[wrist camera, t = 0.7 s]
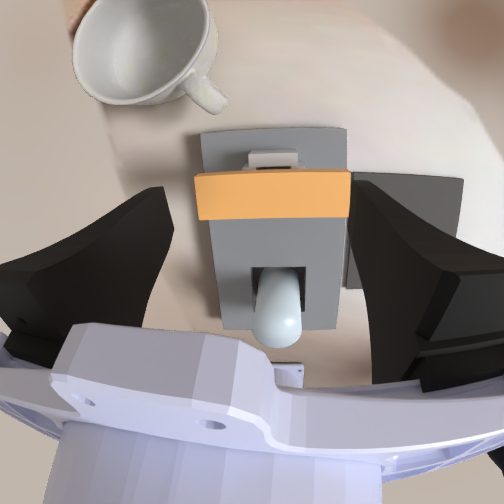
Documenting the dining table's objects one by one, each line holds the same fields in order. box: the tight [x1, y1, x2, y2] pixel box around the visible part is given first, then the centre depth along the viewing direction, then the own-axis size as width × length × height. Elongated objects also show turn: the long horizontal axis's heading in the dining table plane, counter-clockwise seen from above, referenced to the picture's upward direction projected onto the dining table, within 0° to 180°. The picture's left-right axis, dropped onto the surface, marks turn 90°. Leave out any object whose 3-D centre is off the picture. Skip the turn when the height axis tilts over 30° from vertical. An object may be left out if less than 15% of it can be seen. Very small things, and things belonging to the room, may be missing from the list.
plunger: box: [194, 169, 351, 220], centre depth 21 cm, size 3×10×4 cm, turn 93°
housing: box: [200, 128, 347, 330], centre depth 27 cm, size 20×12×5 cm, turn 3°
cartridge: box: [252, 267, 302, 348], centre depth 28 cm, size 4×4×8 cm
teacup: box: [72, 0, 229, 115], centre depth 19 cm, size 14×11×8 cm
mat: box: [346, 172, 464, 289], centre depth 28 cm, size 12×12×1 cm
